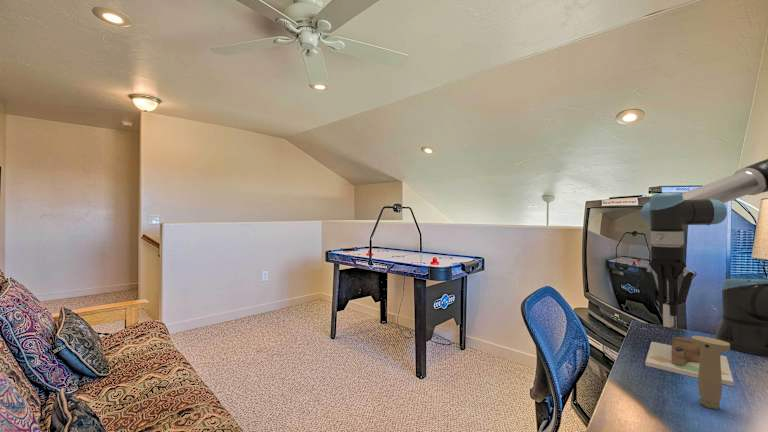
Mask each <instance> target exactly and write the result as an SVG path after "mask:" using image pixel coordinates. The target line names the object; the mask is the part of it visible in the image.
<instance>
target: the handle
mask: <svg viewBox="0 0 768 432" xmlns="http://www.w3.org/2000/svg"><path fill="white" fill-rule="evenodd" d="M691 339H692V343H693V344H694V345H696V346H697V347H699V348H700V363H699V373H698V378H697V386H698V394H699V403H700V405H702V406H704V407H705V408H708V409H714V410H718V409H719V408H720V405H721V400H722V395H723V394H722V393H723V384H722V377H721V362H720V355H722V353H725V352H729V351H730V350H731V349H730V343H728V342H725V341H721V340H718V339H715V338H712V337H707V336H702V335H701V336H700V335H692V336H691Z"/></svg>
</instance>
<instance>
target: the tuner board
mask: <svg viewBox="0 0 768 432" xmlns="http://www.w3.org/2000/svg"><path fill="white" fill-rule="evenodd" d="M720 362H721V377H722V385H727V386H730V387H734V379H733V375H732V372H731V368H730V365H729V362H728V357H727V356H726V355H722V354H721V355H720ZM644 363H645V367H649V368H655V369H659V370H662V371H668V372H671V373H676V374H679V375H684V376H688V377H692V378H697V379H698V373H699V363H700V362H693V361H688V362H687V363H686V364H685V365H684V366H680V365H677V364H673V363H672V344H667V343H666V344H665V343H662V342H656V341H651V343H650V345H649V349H648V351H647V355H646V358H645V362H644Z"/></svg>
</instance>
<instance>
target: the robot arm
mask: <svg viewBox="0 0 768 432" xmlns="http://www.w3.org/2000/svg"><path fill="white" fill-rule="evenodd" d="M767 192H768V158H765V159H764V160H761V161H758V162H756V163H753V164H750V165H748V166H745V167H742V168H740V169H737V171H735V172H734V173H733V174H732V175H729V176H727V177H723V178H721V179H719V180H716V181H713V182H709V183H707V184H705V185H702V186H698V187H696V188H692V189H691V190H688V191H685V192H682V193H681V192H665V193H664V192H661V193H653V194H652V195H651V196H650V200H649V202H646V203H645V204H644V205H643V206H642V208H641V210H640V214H641V217H642V219H643V220H644V221H645V222H646V223H648V224H650V225H649V226H650V244H652V246H651V247H650V259H651V260H650V261H649V265H646V266H642V267H641V268H640V270H641V272H642V274H643V275H644V277H645V281H646V284H647V287H648V290H649V295H650V297H651V299H652V300H654V301H656V302H658V303H659V305H658V306H659V307H658V309H659V314H660V315H662V320H663V321H662V325H663V327H666V328H672V327H674V326H675V323H674V321H675V318H674V317H677V315H678V305H682V304H685V303H686V302H687V298H688V296H689V293H690V292H689V291H690V288H691V285H692V283H693V282H692V281H693V279H694V278H695V277H696V276H697V275H698V274H697V272H696V271H692V270H690V268H687V265H686V264H685V248H684V244H685V239H684V237H685V235H684V228H685V227H684V226H704V225H705V226H710V225H718V224H721V223H722V222H724V220H725V219H726V218H727V215H728V210H727V206H726V204H725V203H727V202H731V201H733V200H736V199H739V198H742V197H745V196H747V195H748V196H756V195H759V194H762V193H767ZM653 271H654V273H655V274H656V278H657V282H656V278H655V275H654V273H653ZM681 274H682V275H683V278H682V281H681V285H680V288H678V283H679V282H678V281H679V276H681ZM678 289H679V290H678ZM721 291H722V293H721V296H722V297H721V298H722V299H721V301H722V302H721V303H722V321H721V323H720V325H719V327H718V329H717V331H716V333H715V337H714V339H718V340H721V341H725V342H728V343H730V350H734V351H738V352H741V353H746V354H751V355H757V356H766V357H767V356H768V279H759V278H758V279H757V278H756V279H755V278H727V279H725V280H724V281H723V284H722V289H721Z"/></svg>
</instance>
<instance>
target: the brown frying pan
mask: <svg viewBox="0 0 768 432" xmlns="http://www.w3.org/2000/svg"><path fill="white" fill-rule="evenodd" d="M671 346H672V363H673V364H677V365H680V366H684V365H685V364H686V363H687V362H688V361H693V362H700V348H699V347H697V346H696V345H694V344H693V343H692V338H687V337H682V336H674V337H671Z"/></svg>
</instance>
